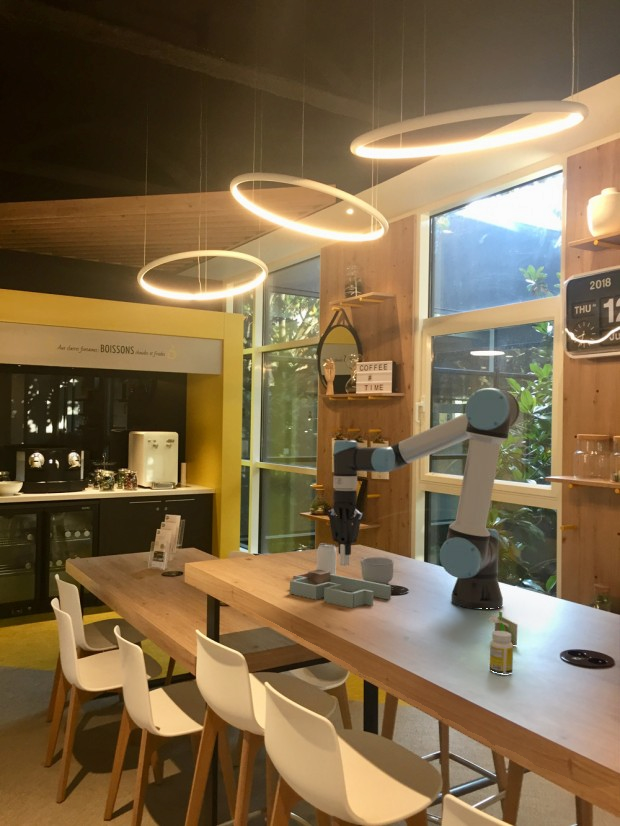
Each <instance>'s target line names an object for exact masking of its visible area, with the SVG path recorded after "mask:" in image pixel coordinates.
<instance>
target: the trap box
mask: <svg viewBox="0 0 620 826" xmlns="http://www.w3.org/2000/svg"><path fill="white" fill-rule="evenodd" d="M308 572H309V571H308ZM308 572H307V571H306V572H302V573H299V574H295V575H292V580H289V595H292V594H294V596H297V595H298V596H297V597H301V596H303V597H302V598H305V597H307V599H310V598H311V600H314V599H315V600H314V601H317V600H319V599H323V602H324V603H327V604H333V605H337V606H342V607H346V608H349V609H353V608H354V609H355V608H356V607H359V606H363V605H366V604H367V606H371V605H372V606H374V596H375V597H376V598H378V599H379V598H380V599H384V600H388V599H389V600H391V599H392V585H388V584H386V585H384V584H379V583H374V582H369V581H365V580H364V579H359V578H352V577H347V576H344V575H337V574H336V575H333V574H330V582H326V583H322V584H318V585H312V584H308ZM323 597H324V598H323ZM316 599H317V600H316Z"/></svg>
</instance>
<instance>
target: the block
mask: <svg viewBox="0 0 620 826" xmlns="http://www.w3.org/2000/svg"><path fill="white" fill-rule="evenodd" d="M326 582H330V572H327V571H322V570H317V569H315V570H314V569H313V570H310V571H308V584H312V585H318V584H322V583H326Z"/></svg>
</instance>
